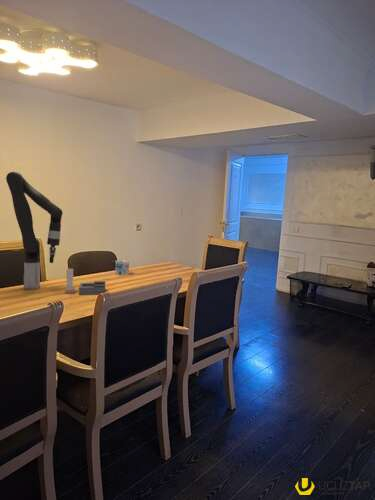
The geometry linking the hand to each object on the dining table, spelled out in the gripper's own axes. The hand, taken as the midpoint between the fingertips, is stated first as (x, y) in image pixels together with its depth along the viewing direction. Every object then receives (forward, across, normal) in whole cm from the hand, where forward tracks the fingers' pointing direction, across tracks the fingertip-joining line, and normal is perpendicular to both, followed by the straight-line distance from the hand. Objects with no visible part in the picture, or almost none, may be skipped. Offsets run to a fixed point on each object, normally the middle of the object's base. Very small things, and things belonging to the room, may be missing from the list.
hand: (51, 262), depth 227 cm
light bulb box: (+9, -34, +56) cm, 66 cm away
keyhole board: (+15, +15, +26) cm, 34 cm away
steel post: (+17, +12, +13) cm, 25 cm away
